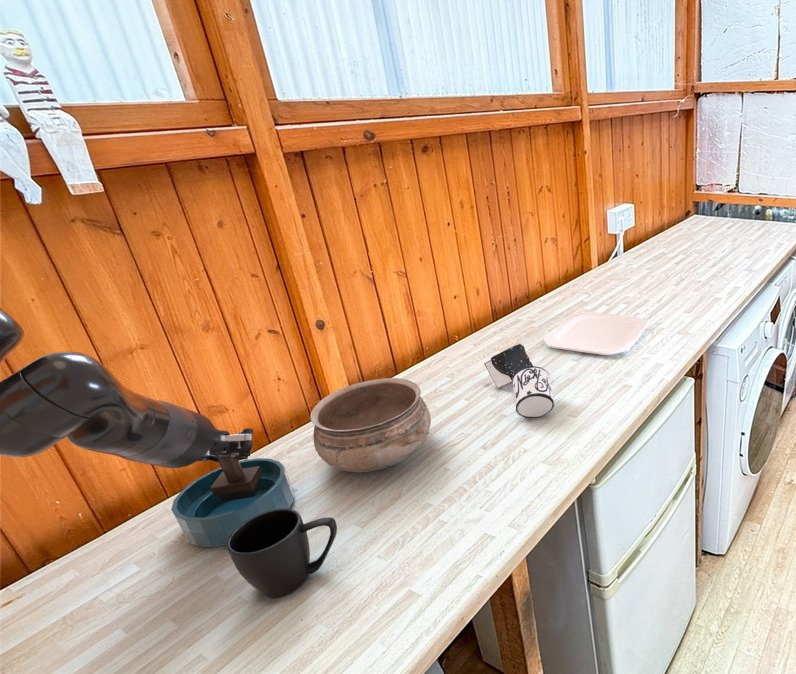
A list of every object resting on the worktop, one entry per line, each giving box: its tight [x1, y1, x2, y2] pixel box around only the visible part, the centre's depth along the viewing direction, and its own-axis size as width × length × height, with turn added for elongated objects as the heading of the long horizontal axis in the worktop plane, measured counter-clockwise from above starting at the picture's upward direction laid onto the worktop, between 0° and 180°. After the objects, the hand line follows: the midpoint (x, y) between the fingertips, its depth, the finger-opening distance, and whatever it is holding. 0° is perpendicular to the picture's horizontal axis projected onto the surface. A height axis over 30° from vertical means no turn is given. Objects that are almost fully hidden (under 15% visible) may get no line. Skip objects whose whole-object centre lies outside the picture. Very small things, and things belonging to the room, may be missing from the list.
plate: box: [542, 310, 649, 356], centre depth 145 cm, size 25×25×2 cm
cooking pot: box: [310, 377, 432, 473], centre depth 94 cm, size 25×19×12 cm
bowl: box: [171, 457, 295, 548], centre depth 82 cm, size 14×14×6 cm
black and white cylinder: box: [483, 343, 555, 419], centre depth 114 cm, size 25×10×10 cm, turn 34°
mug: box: [225, 508, 338, 599], centre depth 71 cm, size 8×12×10 cm
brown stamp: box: [210, 457, 263, 502], centre depth 80 cm, size 5×4×10 cm
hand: (235, 454), depth 81 cm, fingers closed on brown stamp, 2 cm apart
